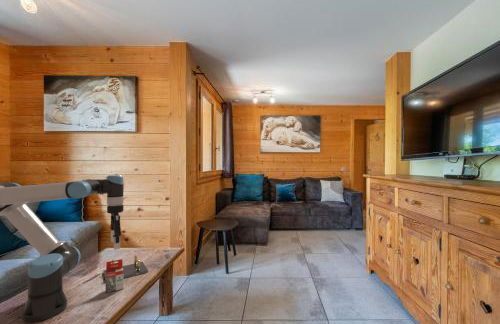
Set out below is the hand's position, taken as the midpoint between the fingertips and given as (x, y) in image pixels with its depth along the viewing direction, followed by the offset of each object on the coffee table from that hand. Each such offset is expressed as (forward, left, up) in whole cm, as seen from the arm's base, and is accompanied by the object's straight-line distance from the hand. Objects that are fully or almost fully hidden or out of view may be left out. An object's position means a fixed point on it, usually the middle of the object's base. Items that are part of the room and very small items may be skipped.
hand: (115, 245), depth 123 cm
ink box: (0, 0, -23) cm, 23 cm away
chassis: (+8, +19, -23) cm, 31 cm away
